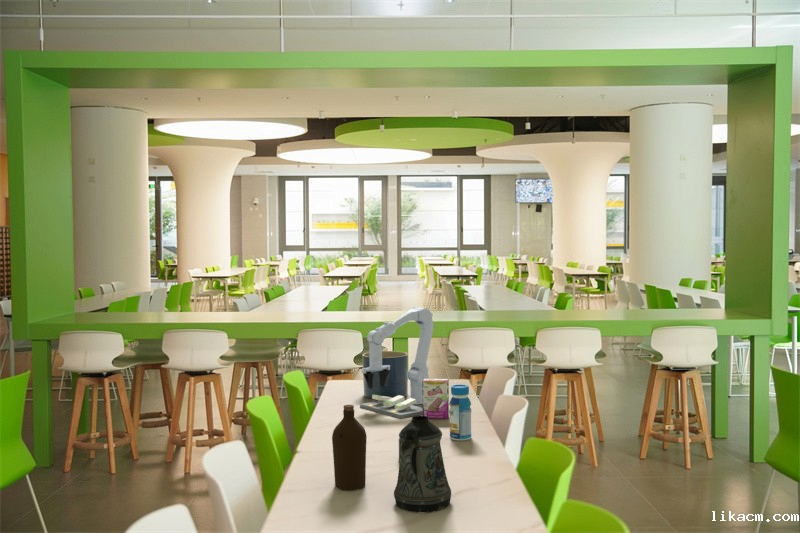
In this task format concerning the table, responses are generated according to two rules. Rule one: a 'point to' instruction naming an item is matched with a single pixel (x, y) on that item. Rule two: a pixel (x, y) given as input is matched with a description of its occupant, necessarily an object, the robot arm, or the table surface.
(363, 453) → the olive oil
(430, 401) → the candy bar box
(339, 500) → the table surface
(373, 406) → the switch unit
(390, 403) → the block
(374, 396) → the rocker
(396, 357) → the planter
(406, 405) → the rocker
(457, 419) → the beverage bottle
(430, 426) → the beer stein
